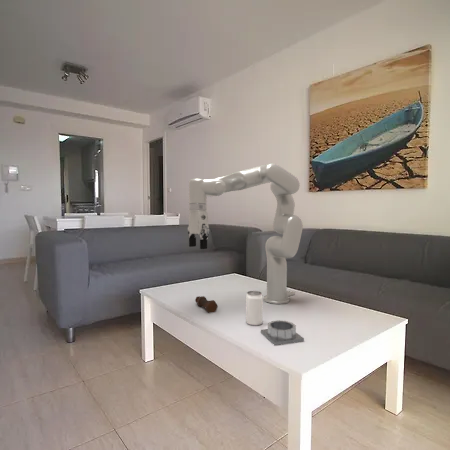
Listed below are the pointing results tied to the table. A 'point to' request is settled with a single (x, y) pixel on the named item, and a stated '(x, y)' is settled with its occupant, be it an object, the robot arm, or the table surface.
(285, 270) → the robot arm
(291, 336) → the duct collar
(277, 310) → the table surface
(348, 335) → the table surface
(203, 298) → the bolt
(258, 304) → the can
